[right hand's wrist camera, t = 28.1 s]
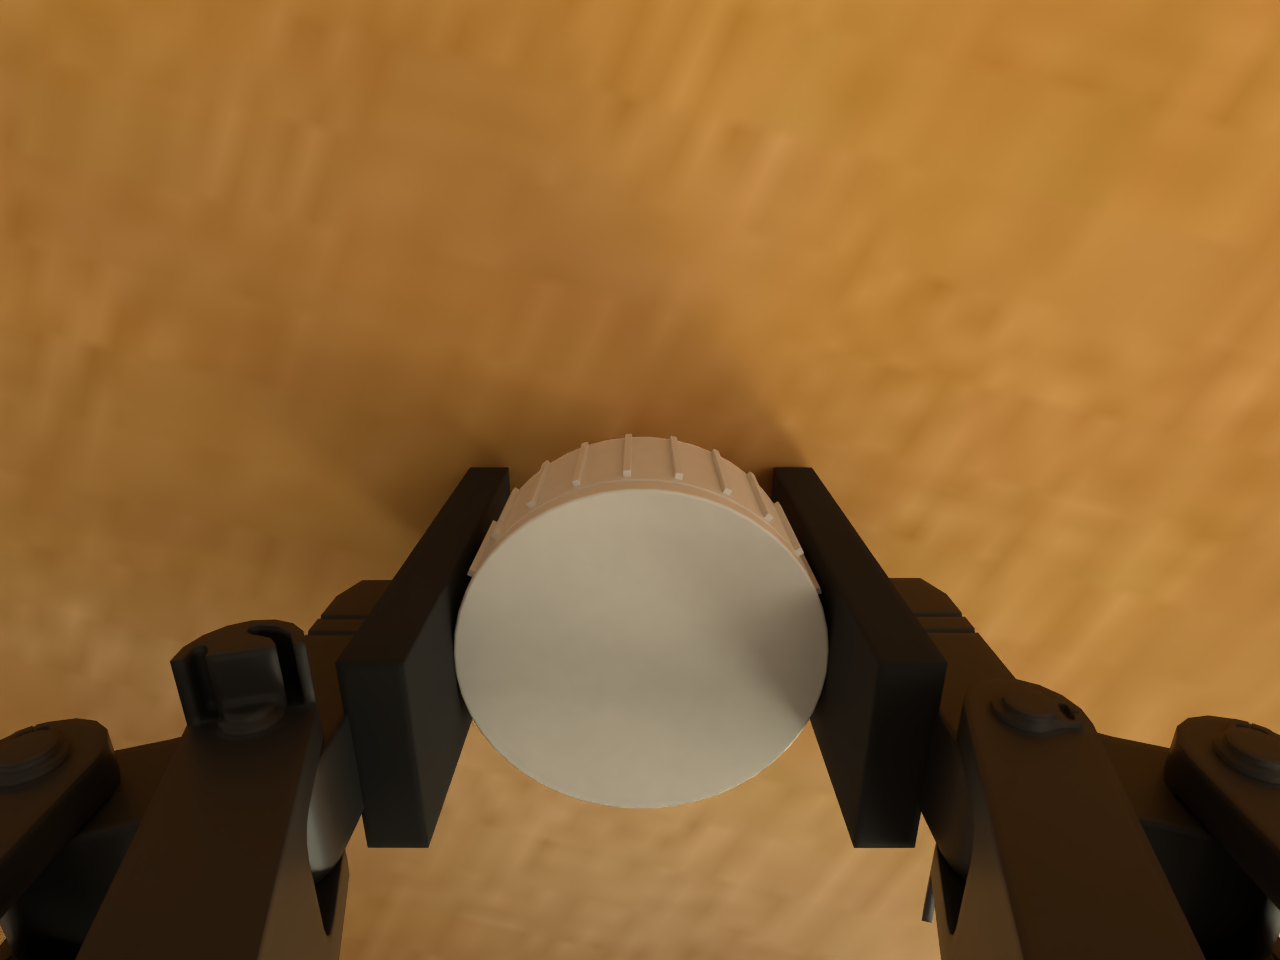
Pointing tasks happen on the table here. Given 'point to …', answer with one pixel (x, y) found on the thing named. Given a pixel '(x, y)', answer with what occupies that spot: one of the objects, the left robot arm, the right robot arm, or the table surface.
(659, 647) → the lid
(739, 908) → the table surface
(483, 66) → the table surface
